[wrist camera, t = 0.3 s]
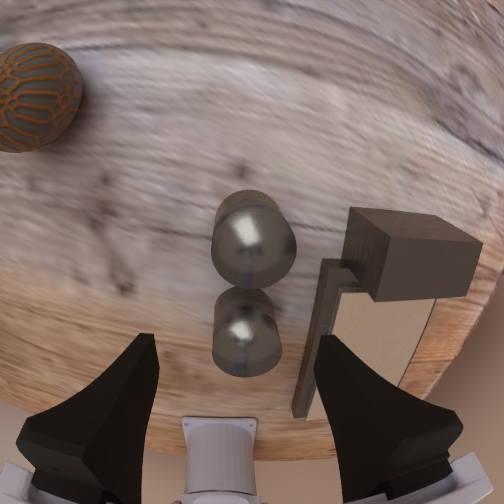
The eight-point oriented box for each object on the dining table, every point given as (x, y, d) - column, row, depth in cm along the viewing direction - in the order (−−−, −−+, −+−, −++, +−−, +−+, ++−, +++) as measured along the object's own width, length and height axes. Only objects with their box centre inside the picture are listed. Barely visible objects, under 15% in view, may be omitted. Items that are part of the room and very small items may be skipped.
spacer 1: (278, 253, 21) (291, 289, 16) (214, 251, 21) (211, 288, 16) (283, 191, 19) (301, 212, 15) (216, 188, 19) (211, 208, 14)
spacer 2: (269, 332, 24) (277, 376, 19) (214, 332, 23) (212, 377, 19) (274, 285, 22) (286, 326, 17) (214, 284, 22) (211, 326, 17)
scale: (383, 394, 29) (402, 433, 24) (291, 406, 28) (301, 453, 23) (447, 216, 21) (495, 244, 15) (330, 204, 20) (366, 235, 14)
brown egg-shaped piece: (101, 131, 17) (22, 141, 9) (26, 156, 16) (-56, 182, 8) (94, 40, 14) (22, 3, 6) (19, 73, 14) (-60, 67, 6)
